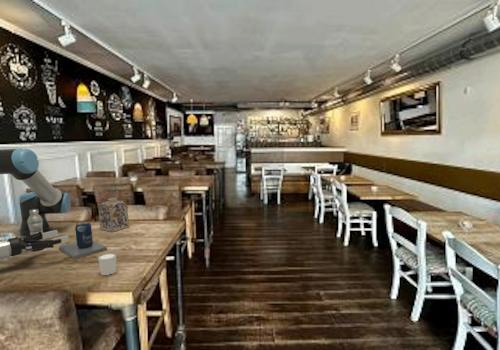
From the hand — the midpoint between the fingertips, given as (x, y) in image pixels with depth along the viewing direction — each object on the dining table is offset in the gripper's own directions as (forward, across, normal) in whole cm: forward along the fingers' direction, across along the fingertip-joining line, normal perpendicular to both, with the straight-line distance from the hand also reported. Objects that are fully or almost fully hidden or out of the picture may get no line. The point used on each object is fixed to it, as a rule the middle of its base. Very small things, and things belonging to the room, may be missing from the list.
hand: (62, 235), depth 162 cm
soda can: (+9, 0, -8) cm, 12 cm away
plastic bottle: (-6, -20, -10) cm, 23 cm away
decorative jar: (+36, -24, -10) cm, 44 cm away
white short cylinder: (+4, +36, -10) cm, 38 cm away
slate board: (+8, -1, -10) cm, 13 cm away
